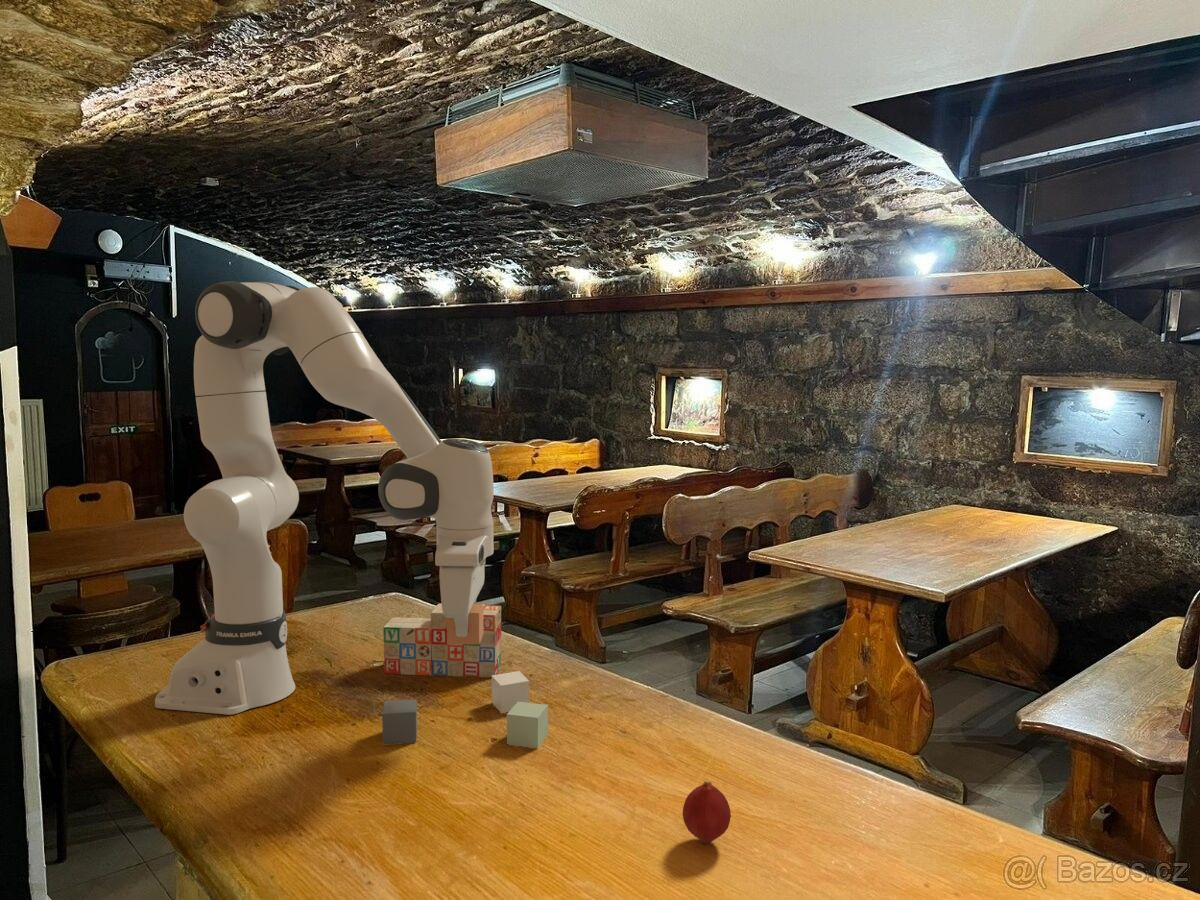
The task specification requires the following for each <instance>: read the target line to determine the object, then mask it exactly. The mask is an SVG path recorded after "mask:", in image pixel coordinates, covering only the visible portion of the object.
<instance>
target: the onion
mask: <svg viewBox="0 0 1200 900" xmlns="http://www.w3.org/2000/svg"><path fill="white" fill-rule="evenodd" d="M682 818H683V819H682V820H683V822H684V824H685V827H686V829H687V830H688V831H689V832H690V833H691V834H692V836H694V837H695V838H697V839H698V840H700V842H701V843H702V844H705V845H708V844H711V843H712V842H714V841H715V840H716V839H718V838H719V837H721V836H723V834H725V833H726V831H727V830H728V829H729V825H730V822H731V818H732V817H731V808H730V805H729V803H728V799H727V798H726V796H725V795H724V793H723V792H722V791H721V790H719V789H718V787H716V786H714V785H713V784H712V782H711V781H710V780H705V781H704V782H703V783H702V784H701V785H699V786H696V787H695V788H694V789H692V791H691V792H689V793H688V795H687V797H686V798H685V800H684V804H683V807H682Z"/></svg>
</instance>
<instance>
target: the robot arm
mask: <svg viewBox="0 0 1200 900" xmlns="http://www.w3.org/2000/svg"><path fill="white" fill-rule="evenodd" d="M196 300H197V301H196V303H195V304H196V305H195V307H194V308H195V309H194V310H195V312H194V313H195V316H194V317H195V322H196V326H197V328H198V330H199V332H200V334H201V336H199V338H197V340H196V343H195V346H194V356H193V385H194V394H195V402H196V403H195V404H196V409H197V417H198V424H199V426H198V427H199V432H200V440H201V442H202V444H203V446H204V447H205V448H206V449H207V451H209V452H210V453H211V454H212V455H213V457H214V459H215V461H216V463H217V465H218V468H219V470H220V473H221V476H222V478H221V479H216V480H213V481H211V482H209V483H207V484H206V485H204V486H203V487H201V488H199V489H198V490H197V491H196V492H194V493H193V494H192V495H191V496H190V497H189V498H188V500H187V502H186V503H185V506H184V509H183V510H184V511H183V521H184V525H185V527H186V530H187V531H188V533H189V535H190V536H191V537H192V538H193V539H194V540H195V541H197V542H198V543H199V544H200V545H201V546H202V547H201V548H202V549H203V551H204V554H205V556H206V559H207V562H208V564H209V569H210V572H211V578H212V589H213V605H214V606H213V607H214V609H213V610H214V613H213V614H211V617H210V618H209V619H207V620H205V621H204V624H202V625H200V634H202V633H205V634H204V635H205V637H204V639H202V640H201V641H200V642H198V643H197V644H196V645H195V646H193V647H192V648H191V649H190V650H189V651H187V652H186V653H185V654H184V655H182V656H181V657H180V658H179V659H178V660H177V661H176V662H175V664H173V667H172V669H171V671H170V672H171V673H170V676H169V681H168V682H169V683H168V685H166V686H165V687H163V688H162V689H161V690H160V691H159V692H158V693H157V694H156V696H155V697H154V698H155V699H154V708H156V709H162V710H163V709H164V710H174V711H186V712H194V713H195V712H196V713H206V714H217V715H218V714H220V715H226V716H230V715H231V716H232V715H235V714H239V713H242V712H245V711H246V710H249V709H254V708H257V707H263V706H265V705H270V704H273V703H275V702H279V701H281V700H284V699H285V698H287V697H288V696H290V695H291V694H292V693H294V691H295V690H296V684H295V681H294V679H293V675H292V671H291V667H290V664H289V663H290V662H289V660H288V654H287V645H286V643H287V641H288V640H287V638H288V624H287V615H286V611H285V609H284V600H283V597H284V596H283V595H284V594H283V574H282V573H283V571H282V569H281V567H280V566H281V565H279V564H278V562H276V561H275V560H274V558H273V556H272V553H271V550H270V547H269V543H268V539H267V534H268V533H267V532H268V531H271V530H274V529H275V528H278V527H280V526H281V525H282V524H284V523H285V522H286V521H287V520H288V519H289V518H290V517H291V516H292V515H293V514H294V513H295V511H296V510H297V508H298V505H299V501H300V494H299V493H300V492H299V489H298V486H297V485H296V483H295V481H294V480H293V478H291V477H290V476H289V475H288V474H287V472H286V470H285V467H284V466H283V463H282V460H281V458H280V456H279V452H278V449H277V448H276V445H275V441H274V438H273V437H274V436H273V433H272V427H271V422H270V421H271V420H270V413H269V407H268V400H267V399H268V398H267V392H266V385H265V384H266V383H265V377H264V363H265V360H266V358H267V357H268V356H269V355H270V354H274V355H276V356H280V355H283V354H285V353H287V352H288V351H291V352H292V354H293V356H294V357H295V359H296V361H297V362H298V364H299V366H300V368H301V370H302V371H303V373H304V375H305V377H306V378H307V380H308V381H309V383H310V384H311V385H312V387H313V388H314V389H315V390H316V391H317V392H318V393H319V394H320V396H322V397H323V398H324V400H326V401H328V402H330V403H332V404H334V405H337V406H340V407H343V408H347V409H350V410H354V411H357V412H360V413H362V414H365V415H366V416H369V417H371V418H373V419H374V420H375V421H377V422H379V424H381V425H382V426H383V427H384V428H385V429H386V431H387V432H388V433H389V435H390V436H391V438H392V439H393V440H394V442H396V444H397V446H398V447H399V449H400V450H401V452H402V453H403V454H404V455H405V456H406V458H405V459H402V460H398V461H397V462H395V463H392V464H391V465H389V466H387V467H386V468H385V469H384V470H383V472H382V473H381V476H380V477H379V481H378V489H377V490H378V491H377V492H378V499H379V501H380V504H381V506H382V507H383V509H384V510H385V511H386V512H387V513H388V514H389V515H390V516H391V517H392V518H395V519H397V520H401V521H416V520H420V519H423V518H433V519H434V520H435V523H436V550H435V559H434V560H435V561H434V562H435V566H437V567H439V576H438V577H439V588H440V589H439V590H440V601H441V603H440V604H442V610H443V614H444V616H445V617H446V618H454V621H455V626H456V636H458V637H466V636H467V634H468V632H469V629H468V628H469V623H468V614H469V612H470V610H471V608H472V606H473V604H477V598H478V596H479V594H480V592H481V590H482V588H483V586H484V584H485V565H486V558H487V557H490V556H492V555H494V546H495V545H494V532H495V531H494V529H495V528H494V524H495V523H494V518H493V516H492V505H493V501H494V496H495V495H494V493H495V489H494V471H493V461H492V457H491V454H490V451H489V449H488V448H487V447H486V446H485V445H483V444H482V443H479V442H477V441H474V440H470V439H465V438H463V439H462V438H447V439H443V440H441V438H440V437H439V436H438V434H437V433H436V432H435V430H434V429H433V428H432V426H431V425H430V423H429V422H428V420H426V417H424V415H423V414H422V412H421V411H420V410H419V408H418V407H417V406H416V404H415V403H414V402H413V400H412V398H411V397H410V396H409V395H408V393H407V392H406V390H405V389H403V387H402V386H401V385H400V384H399V383H398V381H397V380H396V379H395V378H394V377H393V376H392V374H391V373H390V372H389V370H387V368H386V367H385V366H384V364H383V363H382V361H381V360H380V358H378V356H377V354H376V352H375V351H374V349H373V348H372V347H371V346H370V344H369V342H368V341H367V339H366V338H365V336H364V334H363V332H362V331H361V329H360V328H359V326H358V325H357V324H356V322H355V321H354V319H353V317H351V315H350V314H349V313H348V311H347V310H346V309H345V308H344V306H343V305H342V304H341V303H340V302H339V300H338V299H337V298H336V297H335V296H334V295H333V294H332V293H331V292H329V291H328V290H327V289H324V288H322V287H319V286H318V287H317V286H316V287H315V286H309V287H304V288H301V289H300V288H298V287H296V286H294V285H293V286H292V285H283V284H279V283H274V282H273V283H272V282H268V281H255V282H252V281H251V282H250V281H249V282H248V281H247V282H246V281H245V282H238V281H231V280H230V281H229V280H227V281H221V282H217V283H214V284H212V285H211V284H210V285H209V286H208V287H206V288H205V289H204V290H203V291H202V292H201V293H200V295H199V296H198V298H197V299H196Z"/></svg>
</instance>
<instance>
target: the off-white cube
mask: <svg viewBox="0 0 1200 900" xmlns="http://www.w3.org/2000/svg"><path fill="white" fill-rule="evenodd" d="M517 702H527V703H530V680H529V679H528V678H527V677H526V676H525V675H524V674H523V673H522V672H521V671H520V670H516V671H511V672H506V673H499V674H498V673H497V675H492V678H491V704H492V703H493V704H494V705H493V704H492V705H493V707H495V706H496V707H495V709H496V708H497V709H498V710H499V711H500V712H501V713H504V712H509V711H510V710H511V709H512V708H513V707H514V706H515V704H516V703H517ZM497 709H496V710H497ZM498 710H497V711H498ZM499 711H498V712H499ZM500 712H499V713H500ZM501 713H500V714H501ZM504 714H505V713H504Z"/></svg>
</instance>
